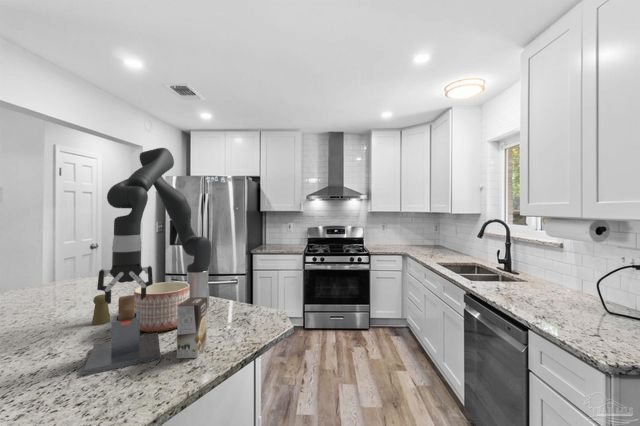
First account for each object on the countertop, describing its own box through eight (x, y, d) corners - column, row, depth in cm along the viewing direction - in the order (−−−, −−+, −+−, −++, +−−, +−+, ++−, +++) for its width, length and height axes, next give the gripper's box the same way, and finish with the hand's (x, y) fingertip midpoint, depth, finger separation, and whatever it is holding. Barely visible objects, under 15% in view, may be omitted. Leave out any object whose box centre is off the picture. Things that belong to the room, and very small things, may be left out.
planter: (199, 319, 119) (200, 283, 119) (160, 338, 101) (160, 296, 101) (164, 313, 125) (164, 280, 125) (121, 330, 107) (121, 291, 107)
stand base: (158, 336, 102) (158, 304, 102) (160, 358, 86) (160, 320, 87) (94, 348, 92) (94, 313, 92) (84, 375, 77) (84, 333, 77)
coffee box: (197, 358, 87) (198, 305, 87) (176, 359, 86) (176, 305, 86) (207, 344, 96) (207, 296, 96) (187, 345, 95) (188, 297, 96)
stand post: (134, 344, 92) (135, 294, 92) (134, 349, 89) (134, 298, 89) (118, 347, 90) (119, 296, 90) (117, 352, 86) (117, 300, 87)
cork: (100, 325, 111) (100, 297, 111) (87, 324, 112) (88, 296, 113) (114, 320, 117) (114, 293, 117) (102, 319, 118) (102, 292, 118)
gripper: (153, 247, 97) (152, 295, 96) (100, 249, 89) (99, 301, 89) (153, 249, 90) (152, 301, 90) (96, 252, 83) (95, 308, 83)
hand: (126, 301), depth 89 cm, fingers open, 8 cm apart
